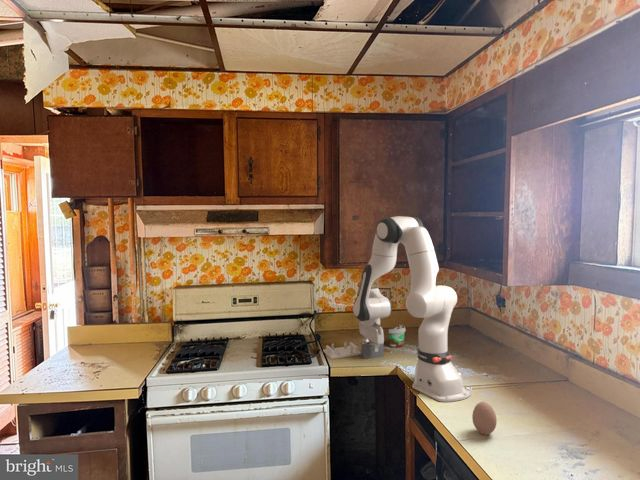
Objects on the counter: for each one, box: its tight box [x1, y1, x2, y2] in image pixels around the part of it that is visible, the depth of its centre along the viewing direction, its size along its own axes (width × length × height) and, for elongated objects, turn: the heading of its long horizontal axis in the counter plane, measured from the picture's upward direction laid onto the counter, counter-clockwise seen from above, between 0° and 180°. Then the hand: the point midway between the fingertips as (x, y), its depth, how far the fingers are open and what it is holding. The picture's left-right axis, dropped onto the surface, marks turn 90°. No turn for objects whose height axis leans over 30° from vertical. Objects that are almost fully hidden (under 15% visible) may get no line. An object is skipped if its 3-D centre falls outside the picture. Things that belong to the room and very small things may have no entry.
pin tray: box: [322, 341, 361, 360], centre depth 195 cm, size 12×16×4 cm
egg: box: [471, 401, 498, 436], centre depth 118 cm, size 7×7×10 cm
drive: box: [360, 342, 385, 360], centre depth 189 cm, size 4×10×6 cm, turn 108°
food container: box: [388, 323, 407, 349], centre depth 204 cm, size 12×6×10 cm, turn 143°
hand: (371, 348), depth 189 cm, fingers open, 8 cm apart
